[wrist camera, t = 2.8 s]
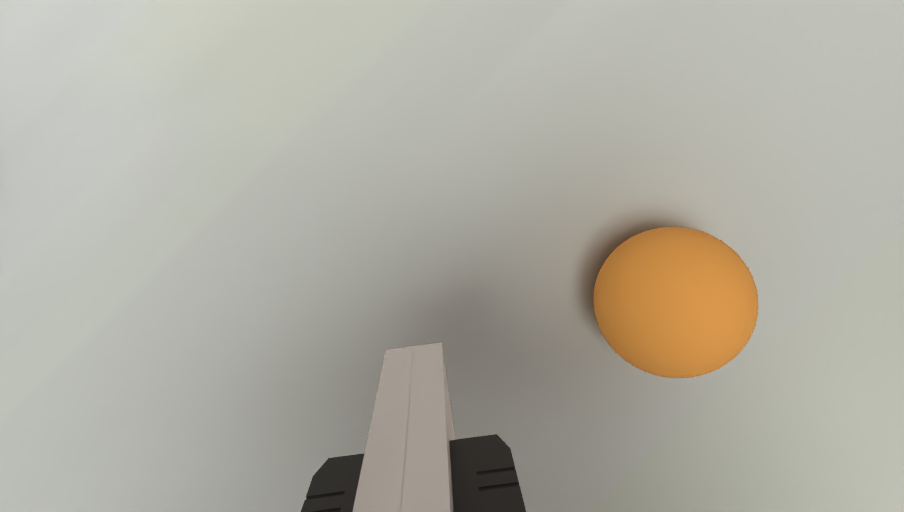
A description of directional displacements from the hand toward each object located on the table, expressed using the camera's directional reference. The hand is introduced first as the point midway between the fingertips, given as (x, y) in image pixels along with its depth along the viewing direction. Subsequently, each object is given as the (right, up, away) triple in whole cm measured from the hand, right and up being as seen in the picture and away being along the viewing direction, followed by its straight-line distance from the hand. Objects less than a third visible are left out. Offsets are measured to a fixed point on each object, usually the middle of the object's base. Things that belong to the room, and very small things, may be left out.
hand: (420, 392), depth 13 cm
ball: (+9, +2, +5) cm, 10 cm away
